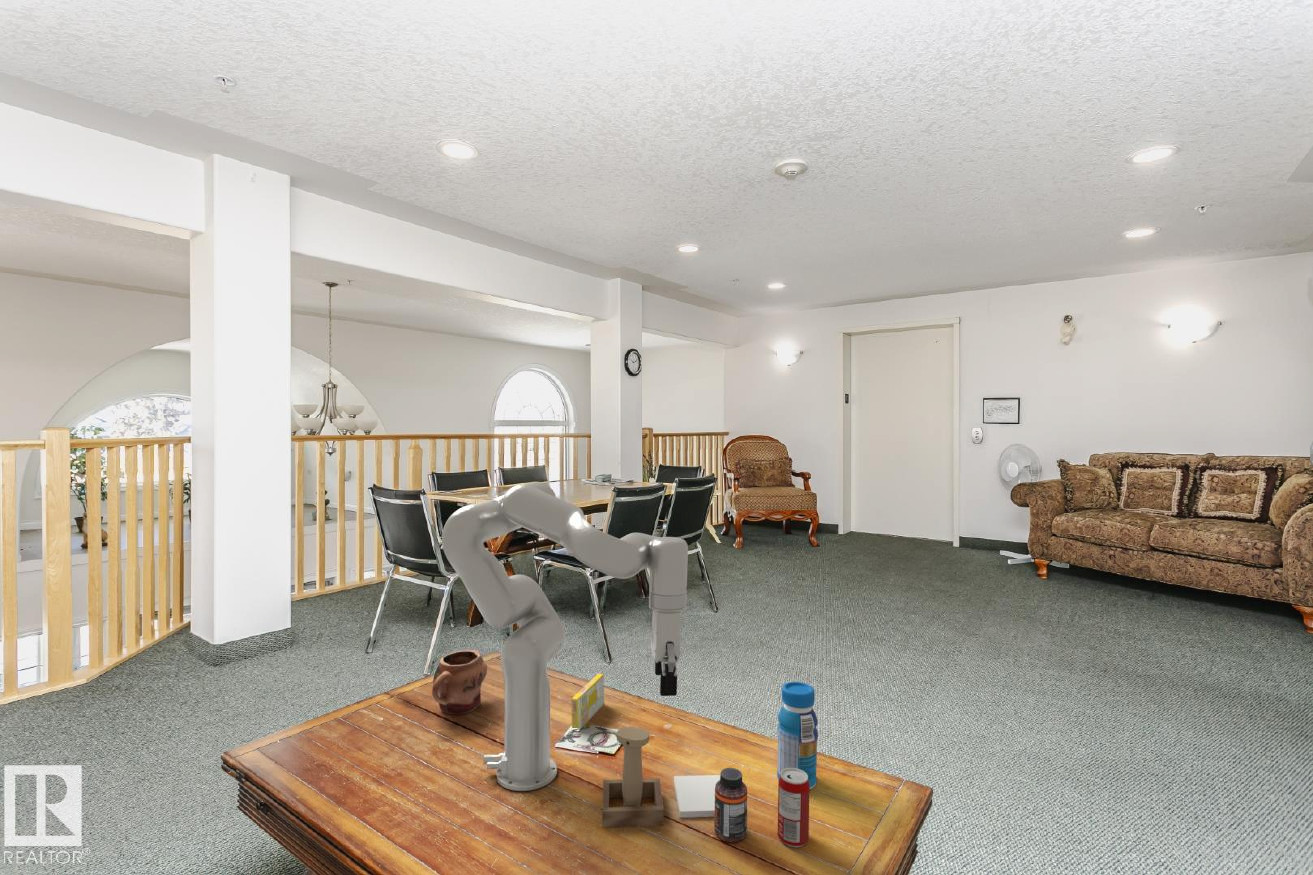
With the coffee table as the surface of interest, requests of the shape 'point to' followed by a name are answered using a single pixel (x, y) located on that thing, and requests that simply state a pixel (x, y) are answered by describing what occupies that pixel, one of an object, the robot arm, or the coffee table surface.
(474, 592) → the robot arm
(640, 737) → the handle
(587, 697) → the candy box
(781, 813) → the soda can
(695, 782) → the plate
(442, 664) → the brown clay mug
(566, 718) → the coffee table surface
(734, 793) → the supplement bottle
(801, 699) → the beverage bottle
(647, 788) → the socket frame
